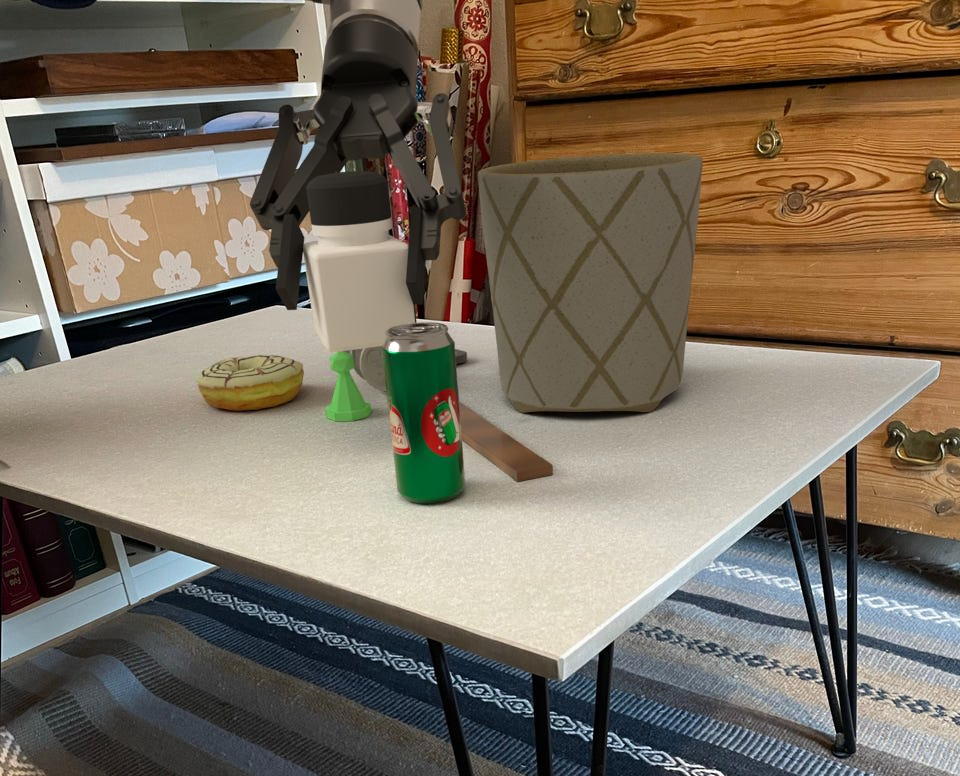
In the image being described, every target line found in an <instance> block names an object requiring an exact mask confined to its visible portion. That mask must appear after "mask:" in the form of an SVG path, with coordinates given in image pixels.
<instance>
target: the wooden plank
mask: <svg viewBox="0 0 960 776" xmlns="http://www.w3.org/2000/svg"><path fill="white" fill-rule="evenodd" d="M459 408H460V421H461V434H462V442H464V443H466V444H467V445H468V446H470V448H472V449H473V450H475V451H476V452H478V453H479V454H480V455H481V456H482V457H484V458H485V459H487V460H488V461H489V462H491V463H492V464H493V465H495V466H496V467H497V468H499V469H500V470H501V471H502V472H504V473H505V474H507V475H508V476H509V477H510V478H512V479H513V480H515V481H516V482H522V481H528V480H532V479H536V478H542V477H546V476H547V477H548V476H553V475H554V465H553V463H551V462H550V461H548V460H547V459H545V458H544V457H542V456H540V455H539V454H538V453H535V452H534V451H533V450H531V449H530V448H528V446H525V445H524V444H523V443H521V442H519V441H518V440H516V438H514V437H512V436H510V435H509V434H507V433H506V432H505V431H503V430H501V429H500V428H499V427H497V426H496V425H494V424H492V423H491V422H489V421H488V420H487V419H485V418H484V417H482V416H481V415H480V414H478V413H477V412H475V411H473V410H472V409H470V408H469V407H467V406H466V405H464V404H462V403H461V402H460V401H459Z"/></svg>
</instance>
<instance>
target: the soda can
mask: <svg viewBox="0 0 960 776" xmlns="http://www.w3.org/2000/svg"><path fill="white" fill-rule="evenodd" d="M385 334H386V336H387V337H386V340H385V342H384V344H383V346H382V356H383V365H384V374H385V383H386V391H385V392H386V400H387V409H388V417H389V426H390V436H391V445H392V453H393V462H394V472H395V480H396V489H397V491H398V492H397V493H399V494H400V495H401V497H402V498H404V499H405V500H407V501H409V502H412V503H415V504H423V505H424V504H425V505H429V504H439V503H444V502H448V501H450V500H452V499H455V498H457V497H458V496H459V495H460V494H461V492H463V490H464V488H465V486H466V476H465V475H466V474H465V463H464V449H463V440H462V434H461V421H460V408H459V402H460V396H459V382H458V371H457V370H458V369H457V364H456V356H455V349H456V346H455V345H456V343H455V340H454V339H453V338H452V336H451V335H450V333H449V326H448V325H446V324H445V323H440V322H428V321H425V322H417V323H410V324H404V325H399V326H395V327H392V328H390V329H388V330H386V332H385Z"/></svg>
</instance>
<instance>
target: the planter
mask: <svg viewBox="0 0 960 776" xmlns="http://www.w3.org/2000/svg"><path fill="white" fill-rule="evenodd" d="M703 163H704V159H703V157H702V156H701V155H698V154H692V153H673V152H672V153H671V152H669V153H667V152H665V153H664V152H660V153H659V152H658V153H657V152H655V153H654V152H653V153H652V152H650V153H649V152H648V153H646V152H645V153H623V154H622V153H621V154H620V153H618V154H601V155H586V156H585V155H583V156H569V157H557V158H546V159H539V160H538V159H537V160H528V161H519V162H512V163H505V164H499V165H494V166H489V167H485V168H482V169H480V170H479V171H478V172H477V183H478V194H479V201H480V202H479V204H480V214H481V222H482V223H481V224H482V233H483V240H484V241H483V242H484V248H485V258H486V266H487V272H488V273H487V274H488V282H489V290H490V297H491V298H490V300H491V307H492V308H491V309H492V315H493V324H494V325H493V326H494V333H495V341H496V352H497V360H498V361H497V362H498V369H499V380H500V385H501V389H502V392H503V393H504V395H505V396H506V397H507V398H508V399H509V400H510V401H511V403H512V405H513V407H514V408H515V410H516V411H517V412H519V413H533V412H573V413H574V412H575V413H576V412H577V413H584V412H586V413H587V412H588V413H590V412H637V413H639V412H640V413H651V412H653V411H654V410H656V408H657V407H659V406H658V405H659V404H660V403H661V402H662V400H663V399H664V398H666V397H667V396H668V395H670V394H672V393H673V392H675V391H676V390H677V389H678V388H679V387H680V385H682V379H683V375H684V374H683V373H684V366H685V365H684V364H685V354H686V353H685V352H686V342H687V331H688V321H689V309H690V299H691V292H692V291H691V290H692V282H693V281H692V280H693V272H694V263H695V253H696V242H697V233H698V224H699V223H698V222H699V213H700V212H699V211H700V200H701V189H702V176H703V165H704V164H703Z"/></svg>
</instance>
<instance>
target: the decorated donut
mask: <svg viewBox="0 0 960 776" xmlns="http://www.w3.org/2000/svg"><path fill="white" fill-rule="evenodd" d="M303 367H304V364H303V363H302V362H300V361H298V360H295V359H292V358H289V357H286V356H282V355H274V354H267V355H266V354H265V355H264V354H258V355H251V356H238V357H230V358H226V359H223V360H220V361H217V362H215V363H213V364H211V365H210V366H208V367H207V368H205V369H204V370H202V371H201V372H200V373H199V374H198V376H197V380H196V382H197V385H198V391H199V392H200V393H201V397H202V398H203V399H204V400H205V402H206V403H207V404H209V405H210V406H212V407H214V408H216V409H223V410H228V411H235V412H242V411H257V410H261V409H267V408H274V407H278V406H280V405H283V404H286V403H287V402H290V401H293V400H294V399H295V397H296V396H297V395H298V394H299V392H300V391H301V389H302V386H303V381H304V376H305V371H304V368H303Z"/></svg>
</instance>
